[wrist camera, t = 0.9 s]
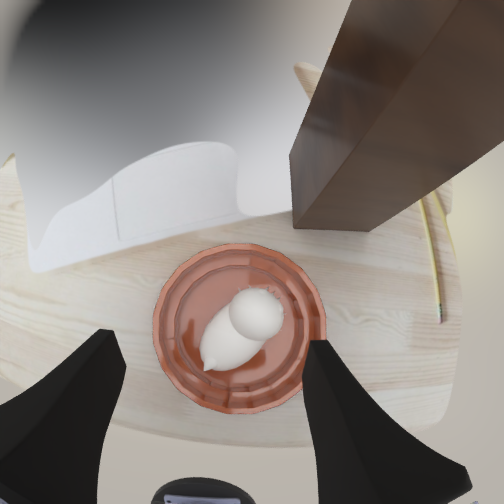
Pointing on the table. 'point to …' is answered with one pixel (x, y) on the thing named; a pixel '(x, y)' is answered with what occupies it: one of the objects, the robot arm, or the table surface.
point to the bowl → (213, 300)
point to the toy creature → (240, 329)
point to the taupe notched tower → (398, 109)
